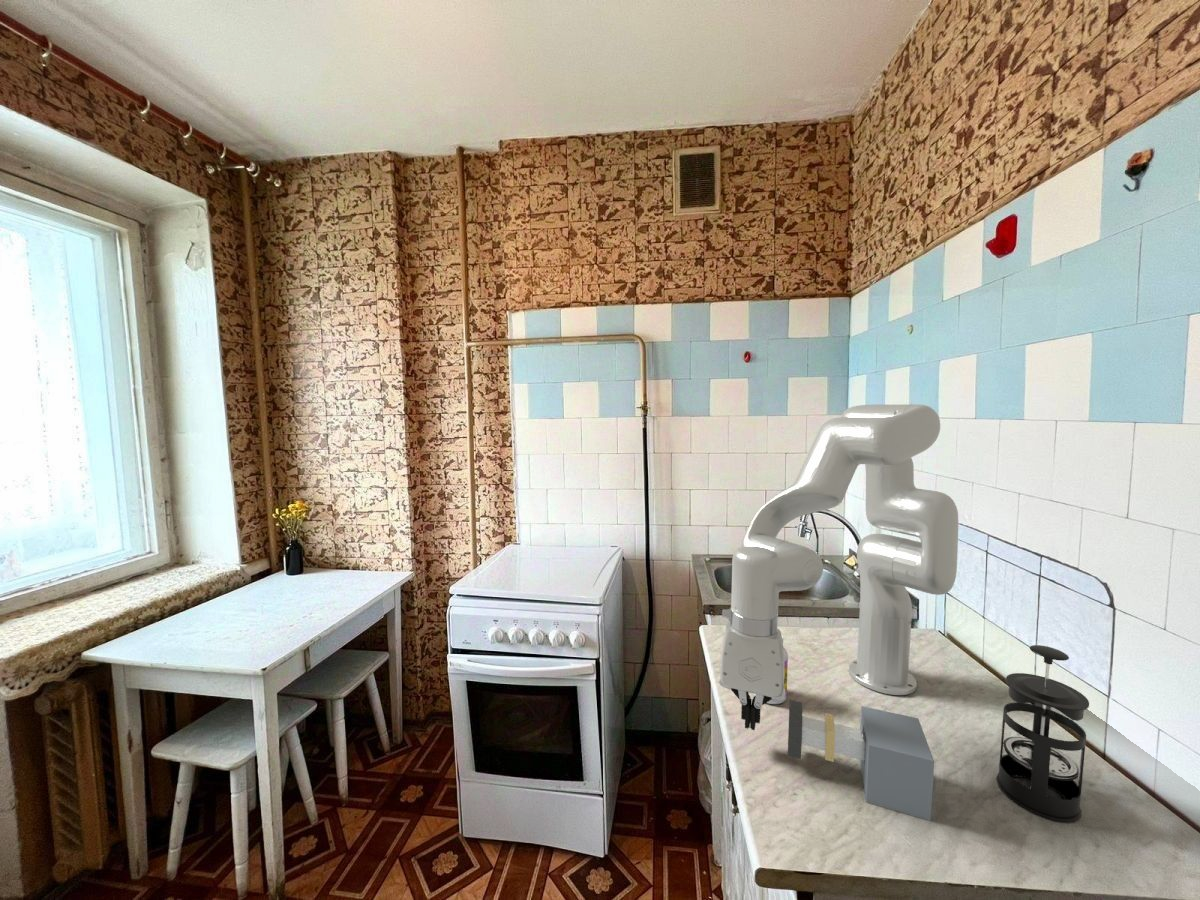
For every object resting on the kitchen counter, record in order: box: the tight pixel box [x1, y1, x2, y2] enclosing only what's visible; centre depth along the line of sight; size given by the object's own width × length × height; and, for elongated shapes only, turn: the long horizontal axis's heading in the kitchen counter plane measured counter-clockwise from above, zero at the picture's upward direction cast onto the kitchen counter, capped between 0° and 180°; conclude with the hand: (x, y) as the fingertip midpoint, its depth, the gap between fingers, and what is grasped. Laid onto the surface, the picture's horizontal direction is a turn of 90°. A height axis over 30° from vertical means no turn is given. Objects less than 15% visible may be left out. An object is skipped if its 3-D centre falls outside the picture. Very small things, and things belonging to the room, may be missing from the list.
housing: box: [858, 705, 935, 822], centre depth 72 cm, size 10×8×9 cm
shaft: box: [787, 699, 866, 763], centre depth 75 cm, size 6×14×6 cm, turn 67°
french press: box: [995, 644, 1090, 824], centre depth 70 cm, size 12×9×23 cm
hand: (750, 724), depth 81 cm, fingers closed
